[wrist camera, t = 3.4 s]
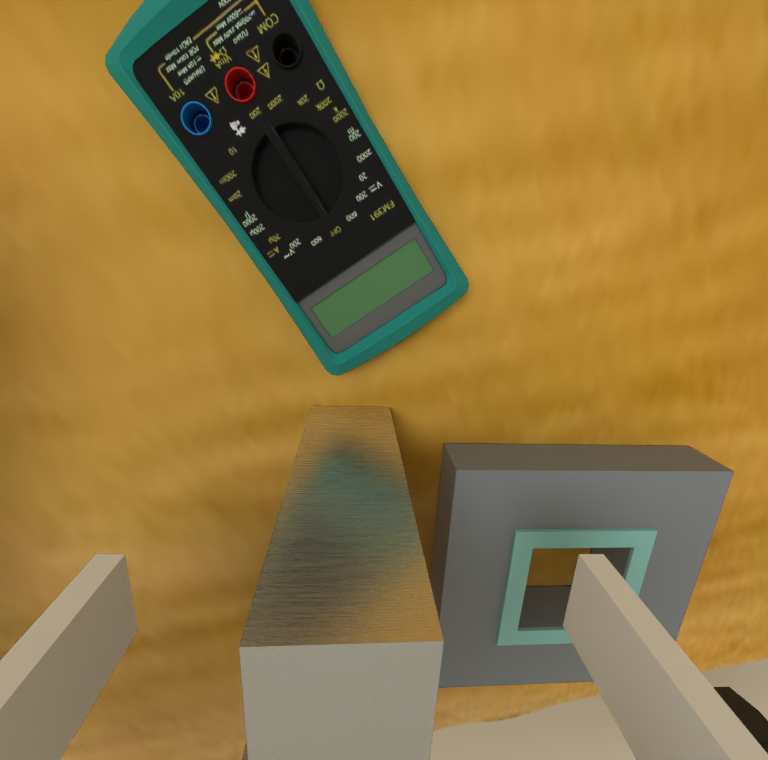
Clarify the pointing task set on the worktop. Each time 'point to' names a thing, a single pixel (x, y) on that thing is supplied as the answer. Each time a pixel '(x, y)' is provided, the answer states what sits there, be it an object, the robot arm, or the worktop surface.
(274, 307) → the worktop surface
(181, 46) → the digital multimeter
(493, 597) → the socket plate
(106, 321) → the worktop surface
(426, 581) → the square bit
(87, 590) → the robot arm
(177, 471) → the worktop surface
